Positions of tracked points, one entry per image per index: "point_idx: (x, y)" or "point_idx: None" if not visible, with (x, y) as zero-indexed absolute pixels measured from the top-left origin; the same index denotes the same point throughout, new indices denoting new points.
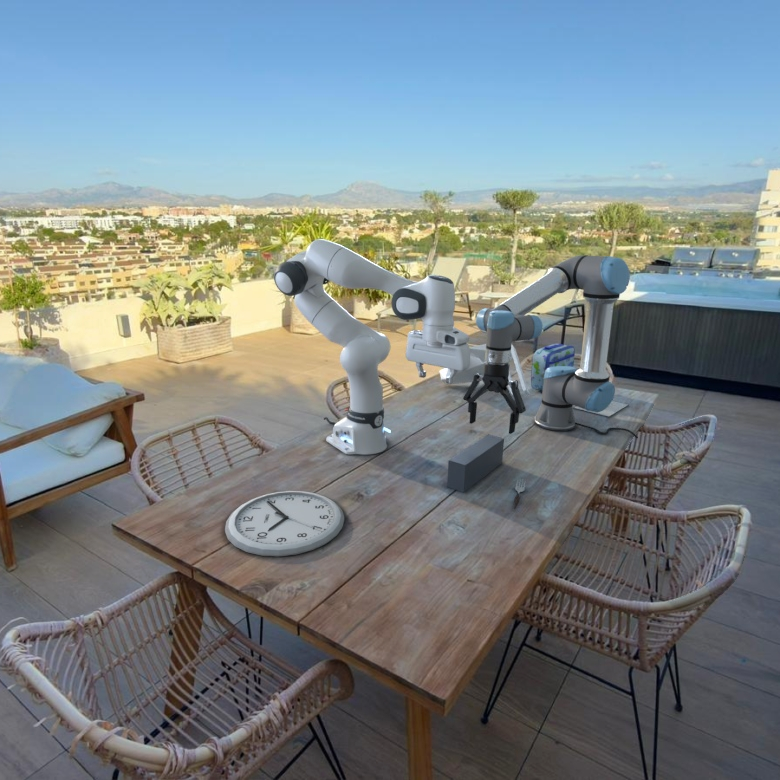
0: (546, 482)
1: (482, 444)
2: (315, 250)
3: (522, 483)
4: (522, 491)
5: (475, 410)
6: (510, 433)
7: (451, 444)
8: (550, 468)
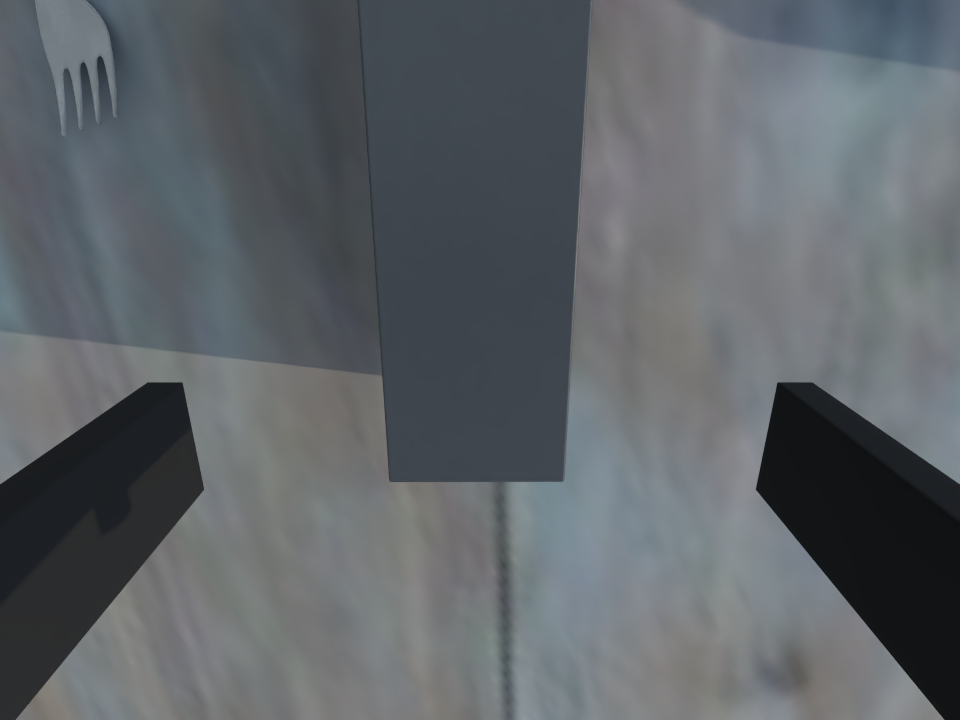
0: (40, 294)
1: (488, 189)
2: None
3: (75, 95)
4: (36, 11)
5: (876, 597)
6: (153, 386)
7: None
8: None
